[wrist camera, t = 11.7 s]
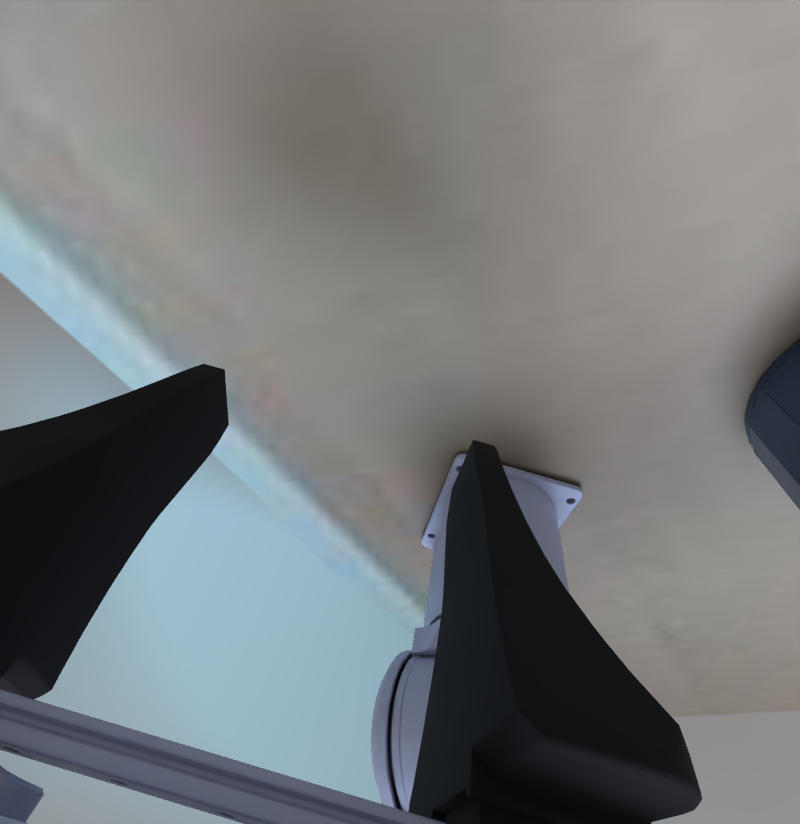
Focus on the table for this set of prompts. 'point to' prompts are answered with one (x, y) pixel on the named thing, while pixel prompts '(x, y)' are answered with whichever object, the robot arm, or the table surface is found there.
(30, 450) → the robot arm
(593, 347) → the table surface
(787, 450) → the tin
